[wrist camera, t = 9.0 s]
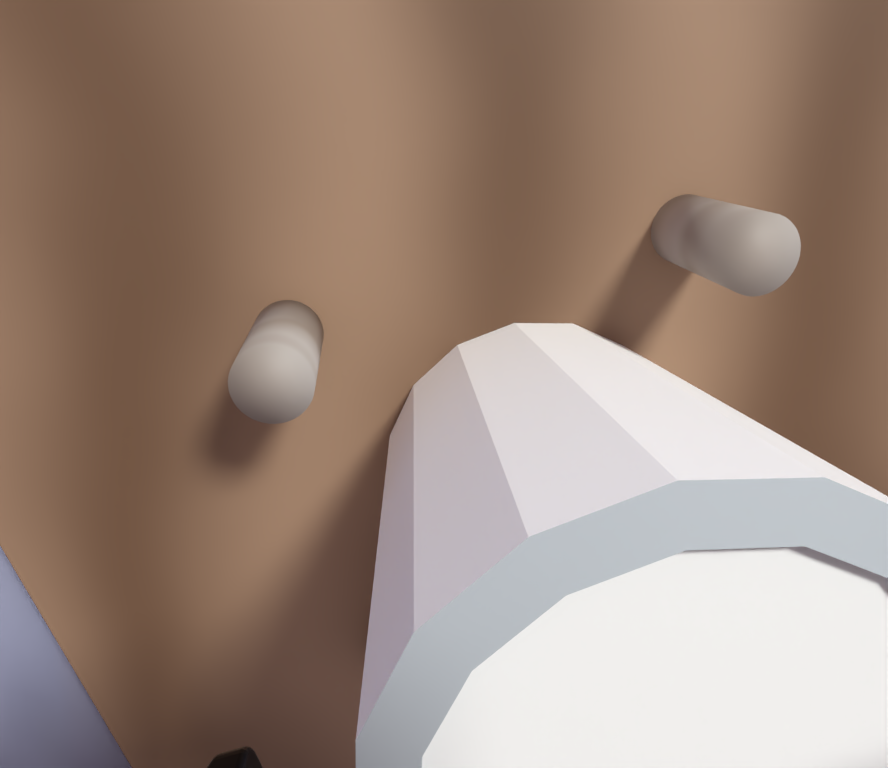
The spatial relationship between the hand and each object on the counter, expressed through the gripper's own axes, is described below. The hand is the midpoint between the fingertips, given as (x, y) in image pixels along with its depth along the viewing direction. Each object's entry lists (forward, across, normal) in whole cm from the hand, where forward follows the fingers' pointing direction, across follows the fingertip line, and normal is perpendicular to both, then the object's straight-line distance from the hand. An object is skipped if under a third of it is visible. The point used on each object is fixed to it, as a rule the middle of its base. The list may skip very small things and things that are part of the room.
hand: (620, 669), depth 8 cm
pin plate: (+6, 0, 0) cm, 7 cm away
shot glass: (+6, 0, 0) cm, 6 cm away
